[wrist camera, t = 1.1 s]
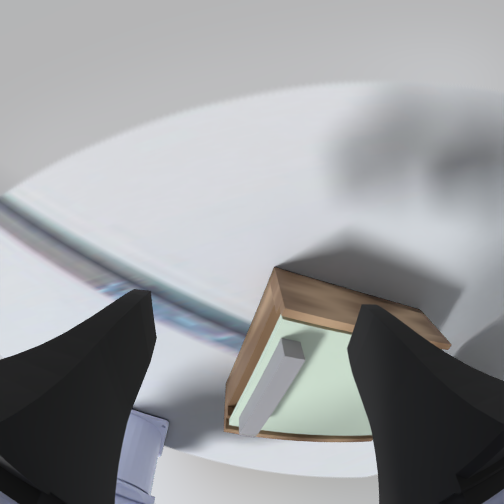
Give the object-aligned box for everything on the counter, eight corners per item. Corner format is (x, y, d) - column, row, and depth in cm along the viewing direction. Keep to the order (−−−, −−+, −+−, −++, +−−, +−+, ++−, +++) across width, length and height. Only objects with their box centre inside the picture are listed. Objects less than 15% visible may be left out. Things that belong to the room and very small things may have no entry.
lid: (439, 347, 18) (453, 363, 15) (371, 430, 21) (378, 447, 19) (281, 313, 16) (286, 336, 14) (229, 419, 19) (228, 441, 17)
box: (419, 309, 22) (451, 344, 17) (356, 402, 25) (371, 441, 20) (274, 266, 20) (284, 308, 15) (225, 383, 23) (223, 431, 18)
